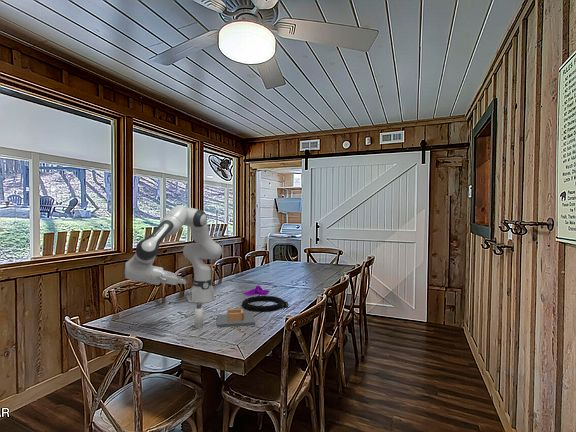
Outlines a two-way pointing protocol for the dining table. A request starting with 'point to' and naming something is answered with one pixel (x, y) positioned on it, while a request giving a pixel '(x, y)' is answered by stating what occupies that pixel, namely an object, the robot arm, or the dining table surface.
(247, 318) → the holder
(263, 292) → the cloth
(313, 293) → the dining table surface
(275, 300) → the cable lock
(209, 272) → the robot arm
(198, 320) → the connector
